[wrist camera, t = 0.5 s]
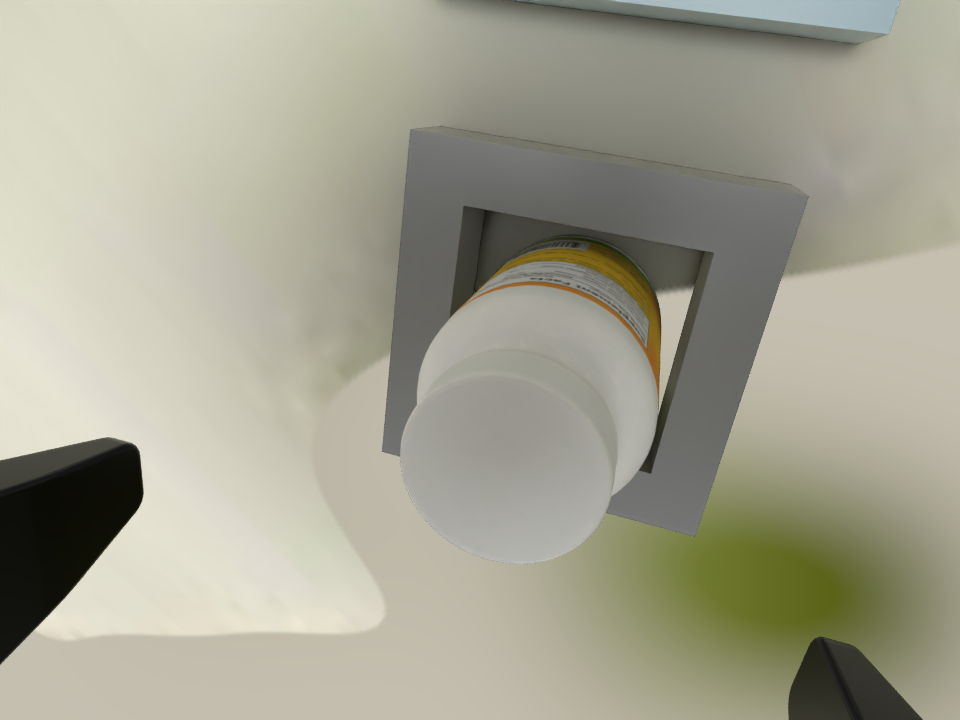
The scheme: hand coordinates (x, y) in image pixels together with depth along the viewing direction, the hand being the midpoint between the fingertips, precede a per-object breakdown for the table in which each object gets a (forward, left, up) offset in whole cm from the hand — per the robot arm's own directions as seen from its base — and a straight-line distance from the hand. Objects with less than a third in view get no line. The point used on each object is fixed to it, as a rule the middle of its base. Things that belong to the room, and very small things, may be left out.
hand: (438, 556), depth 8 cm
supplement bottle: (0, +1, -13) cm, 13 cm away
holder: (0, +1, -13) cm, 13 cm away
